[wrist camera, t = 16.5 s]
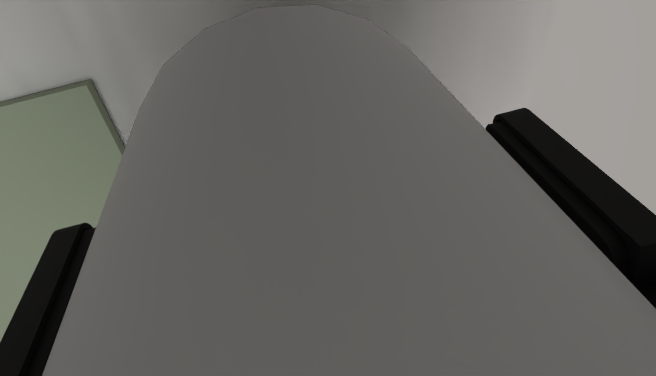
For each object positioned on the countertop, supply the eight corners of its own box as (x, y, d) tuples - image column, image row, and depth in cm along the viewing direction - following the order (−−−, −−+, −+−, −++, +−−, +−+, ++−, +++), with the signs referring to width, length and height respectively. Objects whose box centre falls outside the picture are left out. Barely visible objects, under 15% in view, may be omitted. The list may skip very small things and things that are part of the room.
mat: (-182, 148, 17) (-194, 156, 17) (90, 79, 18) (86, 85, 17) (6, 355, 24) (1, 365, 24) (202, 302, 24) (201, 311, 24)
